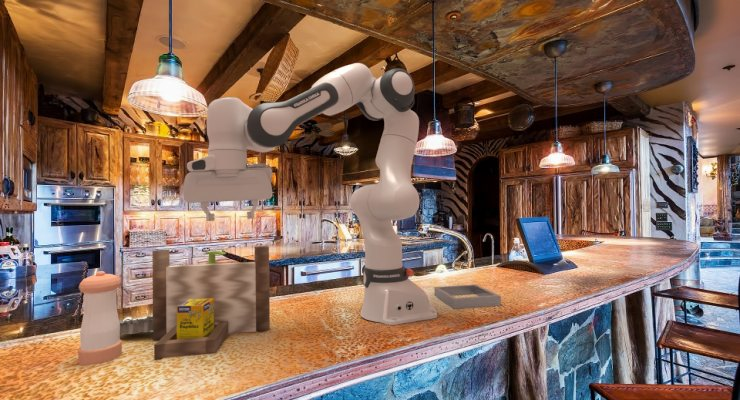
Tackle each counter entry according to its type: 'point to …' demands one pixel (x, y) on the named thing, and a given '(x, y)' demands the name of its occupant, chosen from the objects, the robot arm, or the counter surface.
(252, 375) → the counter surface
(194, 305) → the supplement box
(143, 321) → the egg carton
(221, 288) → the wooden display stand
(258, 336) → the counter surface
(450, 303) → the frame
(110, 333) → the pepper shaker
